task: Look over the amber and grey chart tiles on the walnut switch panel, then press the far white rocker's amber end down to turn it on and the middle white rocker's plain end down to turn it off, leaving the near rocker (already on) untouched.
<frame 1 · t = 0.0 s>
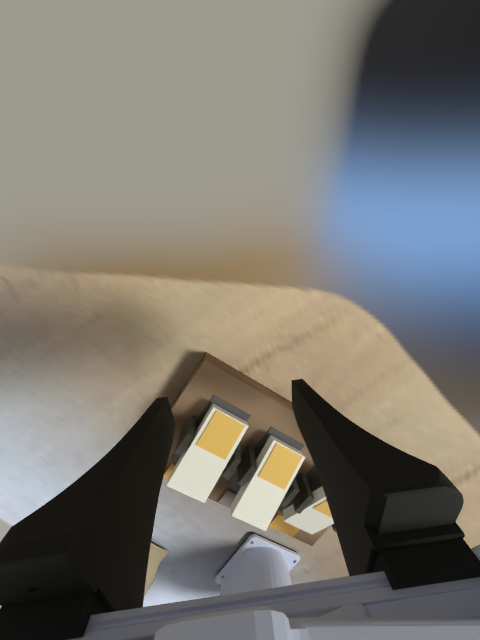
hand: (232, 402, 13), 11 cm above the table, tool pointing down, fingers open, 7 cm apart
decorative ornament: (137, 539, 29), on the table
switch panel: (262, 450, 26), on the table
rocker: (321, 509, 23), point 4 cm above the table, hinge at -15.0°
rocker middle: (268, 482, 22), point 4 cm above the table, hinge at 15.0°
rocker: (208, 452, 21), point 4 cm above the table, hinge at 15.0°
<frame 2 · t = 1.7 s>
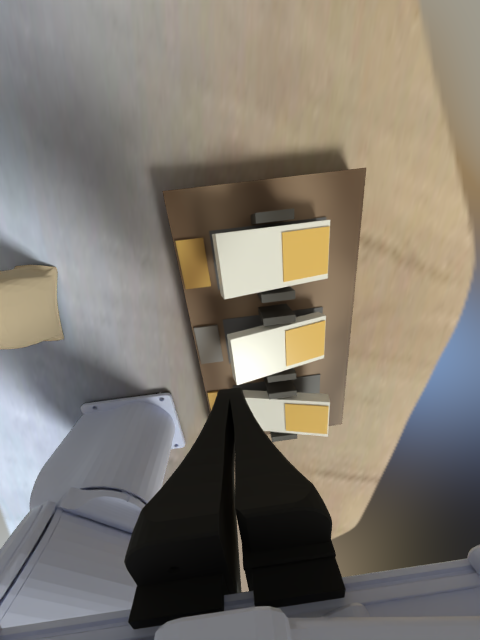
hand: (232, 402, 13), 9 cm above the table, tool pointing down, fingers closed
decorative ornament: (40, 294, 19), on the table
switch panel: (269, 326, 21), on the table
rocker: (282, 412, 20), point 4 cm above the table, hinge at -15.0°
rocker middle: (279, 347, 18), point 4 cm above the table, hinge at 15.0°
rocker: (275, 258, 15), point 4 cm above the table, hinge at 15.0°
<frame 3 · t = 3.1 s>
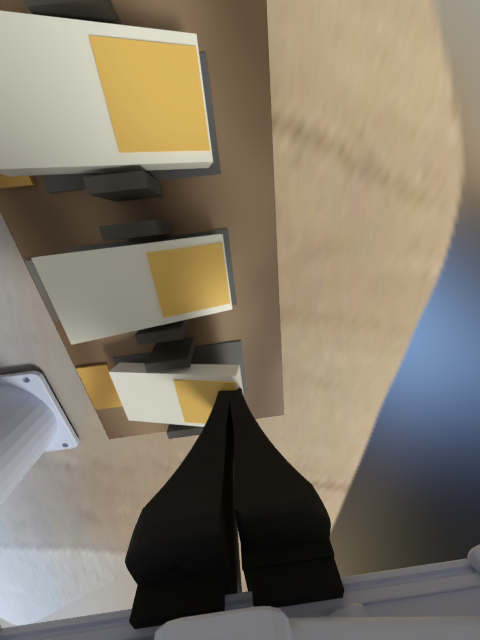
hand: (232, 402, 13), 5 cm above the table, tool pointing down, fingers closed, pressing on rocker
switch panel: (167, 271, 15), on the table
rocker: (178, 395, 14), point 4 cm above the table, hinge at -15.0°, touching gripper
rocker middle: (149, 286, 11), point 4 cm above the table, hinge at 15.0°
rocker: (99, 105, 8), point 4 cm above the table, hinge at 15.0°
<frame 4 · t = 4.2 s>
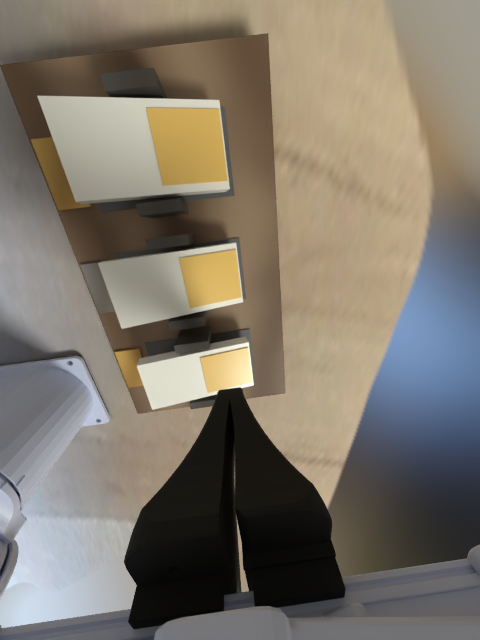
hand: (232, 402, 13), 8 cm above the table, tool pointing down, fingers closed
switch panel: (188, 272, 18), on the table
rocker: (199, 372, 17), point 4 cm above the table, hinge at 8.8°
rocker middle: (179, 283, 14), point 4 cm above the table, hinge at 15.0°
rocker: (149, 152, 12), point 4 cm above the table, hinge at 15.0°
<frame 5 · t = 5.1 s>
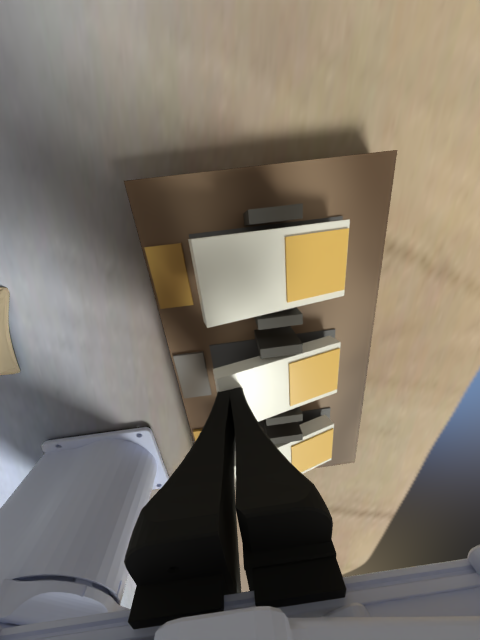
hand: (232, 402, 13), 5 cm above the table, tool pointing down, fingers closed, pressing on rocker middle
switch panel: (268, 350, 18), on the table
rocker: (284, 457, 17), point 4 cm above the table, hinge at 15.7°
rocker middle: (281, 382, 14), point 4 cm above the table, hinge at 15.0°, touching gripper
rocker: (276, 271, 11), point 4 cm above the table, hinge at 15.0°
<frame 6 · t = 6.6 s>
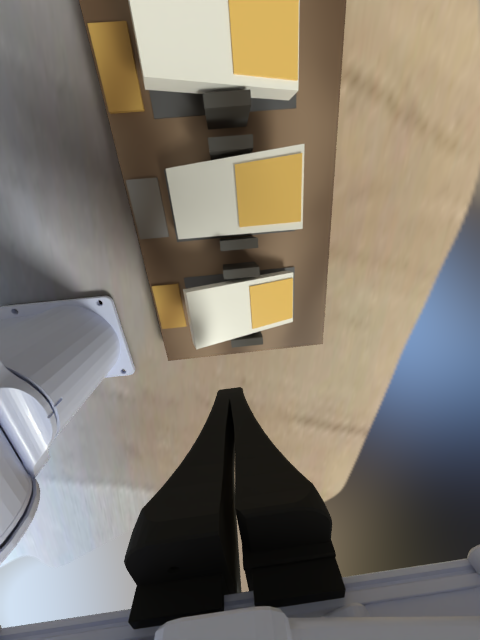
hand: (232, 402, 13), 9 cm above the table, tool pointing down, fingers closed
switch panel: (232, 205, 17), on the table
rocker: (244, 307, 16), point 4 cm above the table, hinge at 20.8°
rocker middle: (234, 198, 13), point 4 cm above the table, hinge at -18.1°
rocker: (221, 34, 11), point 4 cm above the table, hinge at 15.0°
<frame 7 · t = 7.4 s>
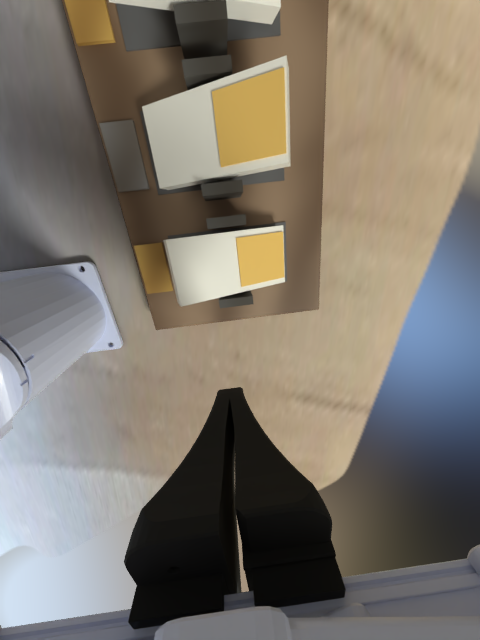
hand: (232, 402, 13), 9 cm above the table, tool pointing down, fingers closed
switch panel: (217, 157, 16), on the table
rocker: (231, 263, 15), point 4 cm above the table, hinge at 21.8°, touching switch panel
rocker middle: (215, 136, 12), point 4 cm above the table, hinge at -21.3°, touching switch panel
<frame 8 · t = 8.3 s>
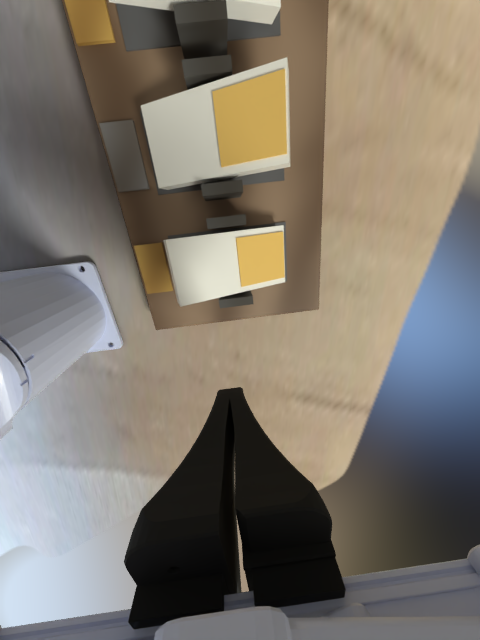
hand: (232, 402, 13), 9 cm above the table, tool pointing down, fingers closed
switch panel: (217, 157, 16), on the table
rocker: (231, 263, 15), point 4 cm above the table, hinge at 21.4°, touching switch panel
rocker middle: (215, 136, 12), point 4 cm above the table, hinge at -19.4°
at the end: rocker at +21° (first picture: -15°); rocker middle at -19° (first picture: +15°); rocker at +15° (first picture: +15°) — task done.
